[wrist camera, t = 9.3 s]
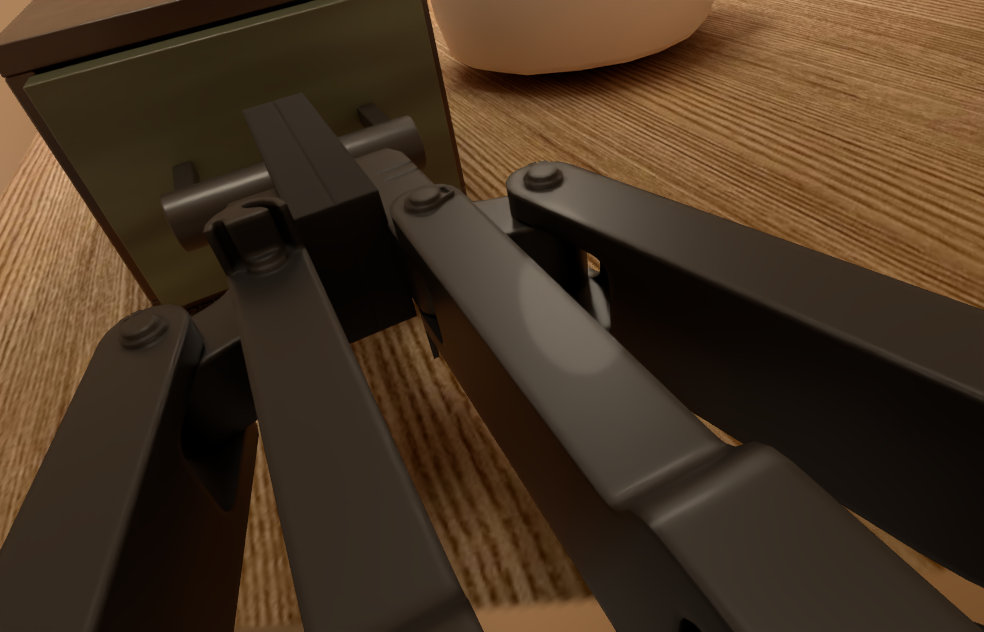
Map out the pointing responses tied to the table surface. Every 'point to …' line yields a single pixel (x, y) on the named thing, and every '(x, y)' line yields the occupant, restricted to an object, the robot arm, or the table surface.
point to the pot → (563, 31)
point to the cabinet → (109, 25)
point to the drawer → (236, 118)
